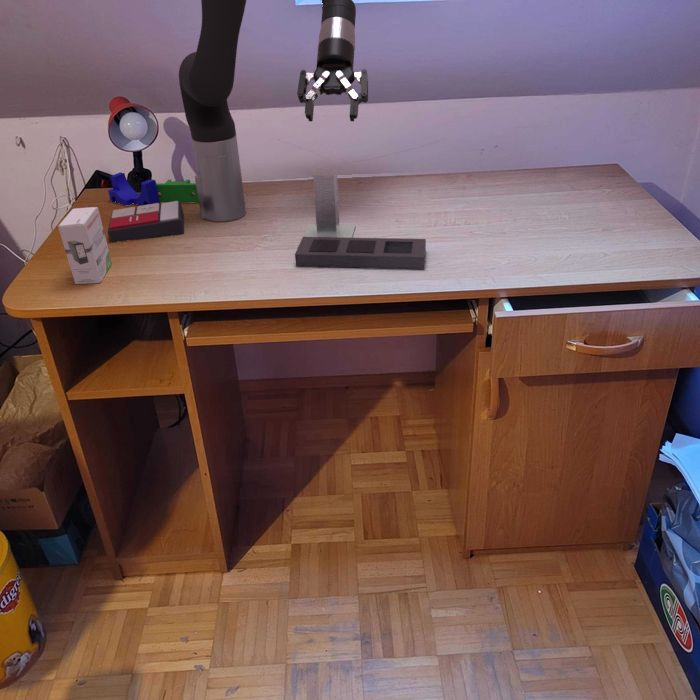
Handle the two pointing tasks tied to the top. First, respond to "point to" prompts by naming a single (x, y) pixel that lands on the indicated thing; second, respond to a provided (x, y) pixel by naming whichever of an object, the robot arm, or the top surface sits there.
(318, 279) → the top surface
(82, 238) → the ink box
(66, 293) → the top surface
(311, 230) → the mat
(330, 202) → the steel plug
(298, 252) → the dark grey slotted tray
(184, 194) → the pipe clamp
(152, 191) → the cable clip
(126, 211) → the red grey box
